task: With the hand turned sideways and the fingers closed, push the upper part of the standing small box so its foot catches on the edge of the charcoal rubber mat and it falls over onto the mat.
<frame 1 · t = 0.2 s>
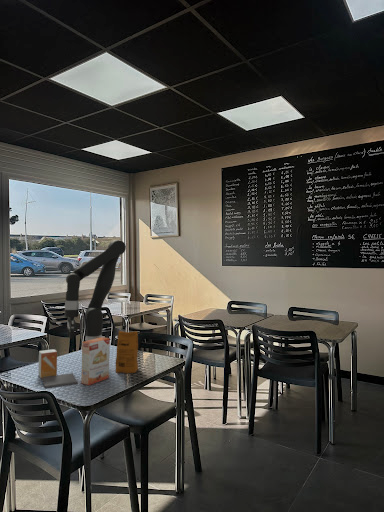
hand: (70, 337, 207), 17 cm above the table, tool pointing down, fingers open, 8 cm apart
coffee package: (126, 371, 201), on the table
small box: (47, 376, 192), on the table
cracker box: (95, 381, 185), on the table
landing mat: (59, 381, 184), on the table
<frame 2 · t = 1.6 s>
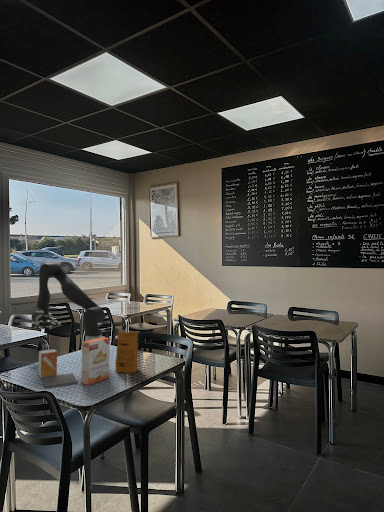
hand: (46, 326, 202), 24 cm above the table, tool horizontal, fingers open, 7 cm apart
nothing on the table moved.
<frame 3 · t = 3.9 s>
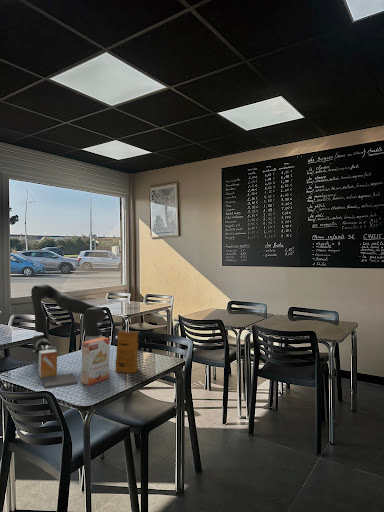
hand: (46, 353, 201), 10 cm above the table, tool horizontal, fingers closed
nothing on the table moved.
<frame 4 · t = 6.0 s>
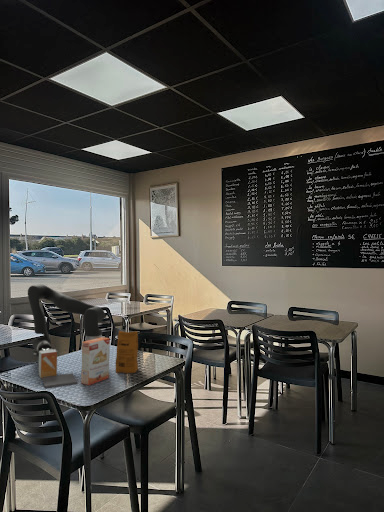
hand: (47, 356, 195), 10 cm above the table, tool horizontal, fingers closed
small box: (47, 376, 192), on the table, touching gripper
everything else where it was.
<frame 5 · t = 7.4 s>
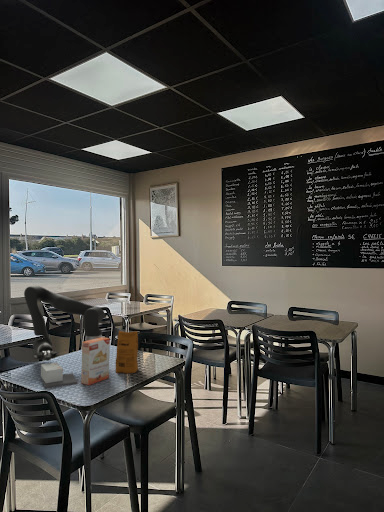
hand: (48, 358, 190), 10 cm above the table, tool horizontal, fingers closed
small box: (48, 369, 190), point 4 cm above the table, touching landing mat
everything else where it was.
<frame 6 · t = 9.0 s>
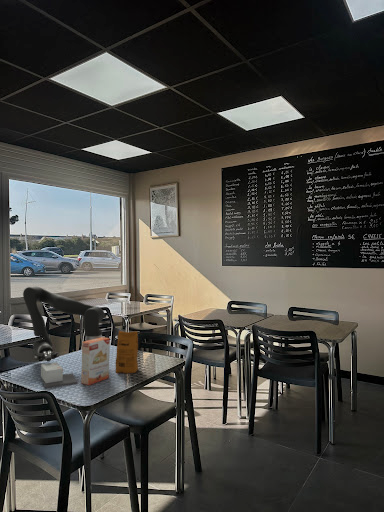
hand: (48, 359, 188), 10 cm above the table, tool horizontal, fingers closed
nothing on the table moved.
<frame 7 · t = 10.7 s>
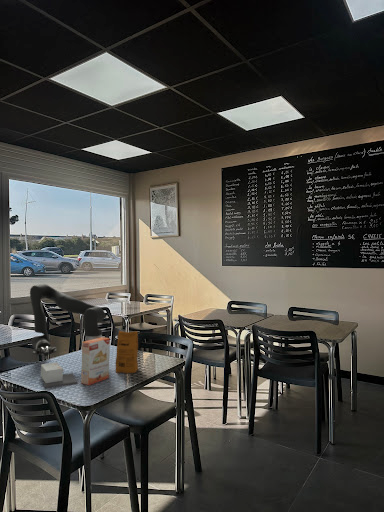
hand: (46, 354, 199), 9 cm above the table, tool horizontal, fingers closed
nothing on the table moved.
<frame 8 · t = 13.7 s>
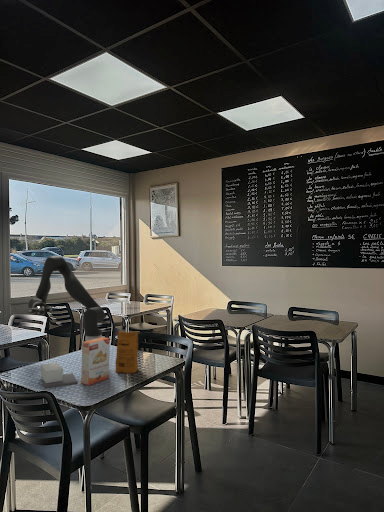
hand: (42, 312, 203), 32 cm above the table, tool horizontal, fingers closed
nothing on the table moved.
at the end: small box tilted 89°; small box touching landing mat; small box inside the target area (4.6 cm from its centre), point 4.0 cm above the table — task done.
